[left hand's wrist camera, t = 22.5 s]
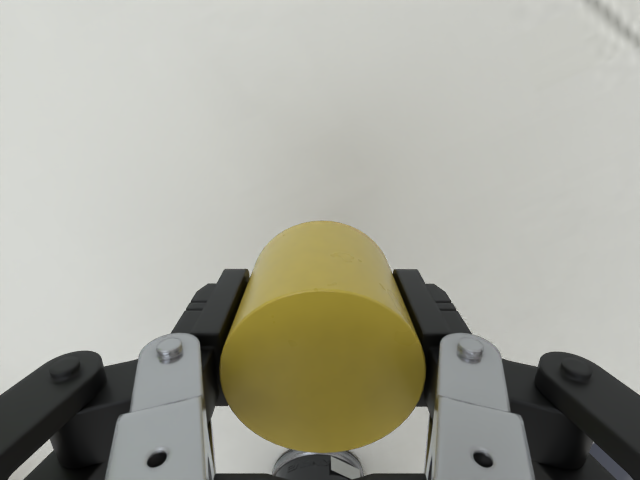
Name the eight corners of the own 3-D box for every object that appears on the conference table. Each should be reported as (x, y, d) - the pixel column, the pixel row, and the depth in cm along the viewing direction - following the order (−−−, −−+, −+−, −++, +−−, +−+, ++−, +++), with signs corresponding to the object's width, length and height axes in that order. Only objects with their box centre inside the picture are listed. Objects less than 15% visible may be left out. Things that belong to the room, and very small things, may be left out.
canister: (307, 190, 11) (299, 247, 7) (419, 274, 12) (470, 364, 8) (226, 297, 13) (180, 395, 9) (333, 363, 14) (339, 479, 10)
